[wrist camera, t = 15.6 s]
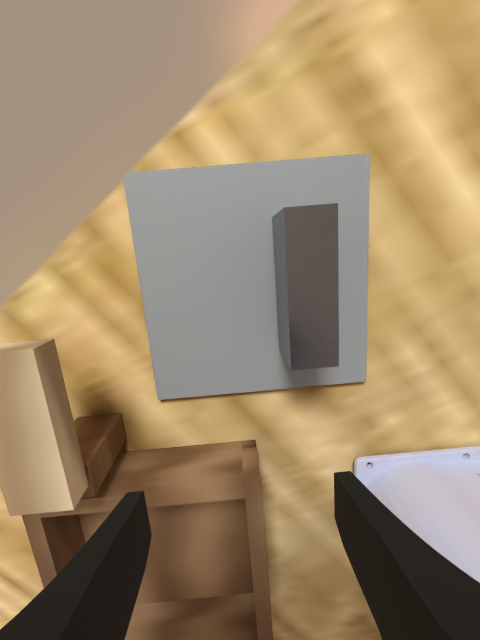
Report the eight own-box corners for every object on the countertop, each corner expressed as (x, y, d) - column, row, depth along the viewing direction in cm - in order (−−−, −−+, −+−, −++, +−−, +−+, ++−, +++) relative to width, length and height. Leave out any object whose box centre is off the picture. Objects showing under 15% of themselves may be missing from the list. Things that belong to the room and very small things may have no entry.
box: (252, 401, 21) (258, 448, 16) (267, 590, 24) (276, 674, 20) (48, 420, 20) (-9, 473, 16) (95, 606, 24) (62, 696, 19)
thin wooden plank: (53, 338, 14) (32, 349, 12) (88, 485, 16) (74, 509, 14) (-12, 344, 14) (-41, 355, 12) (30, 490, 15) (10, 515, 14)
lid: (362, 158, 18) (411, 124, 13) (359, 375, 21) (398, 412, 16) (128, 177, 18) (89, 149, 13) (161, 393, 21) (140, 436, 16)
